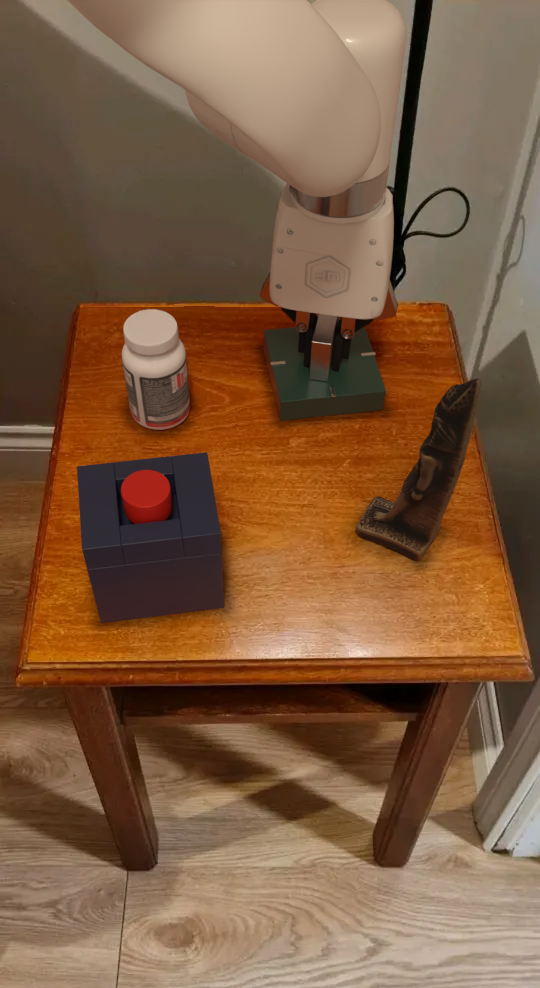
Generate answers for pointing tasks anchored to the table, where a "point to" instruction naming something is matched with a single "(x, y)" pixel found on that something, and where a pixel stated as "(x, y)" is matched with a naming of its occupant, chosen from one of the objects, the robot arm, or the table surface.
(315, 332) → the tap handle
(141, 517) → the red button
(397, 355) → the table surface
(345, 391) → the panel
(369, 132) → the robot arm
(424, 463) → the statue
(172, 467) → the button box
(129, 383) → the pill bottle
